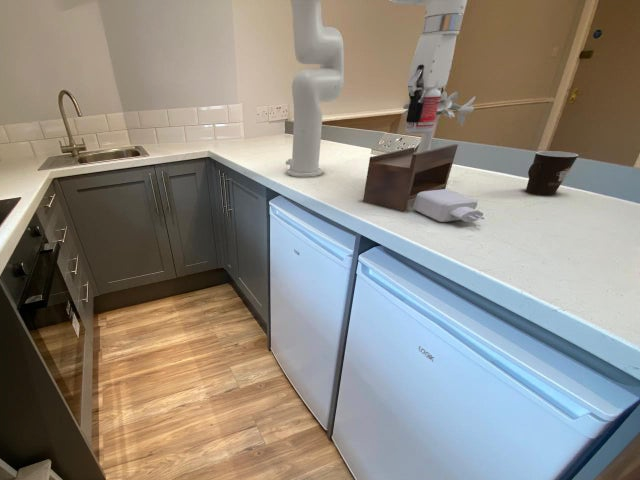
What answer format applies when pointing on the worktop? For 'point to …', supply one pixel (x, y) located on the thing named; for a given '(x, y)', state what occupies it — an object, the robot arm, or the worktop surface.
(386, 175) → the box
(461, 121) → the flower vase
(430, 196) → the charger
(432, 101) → the pill bottle
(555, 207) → the worktop surface
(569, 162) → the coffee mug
